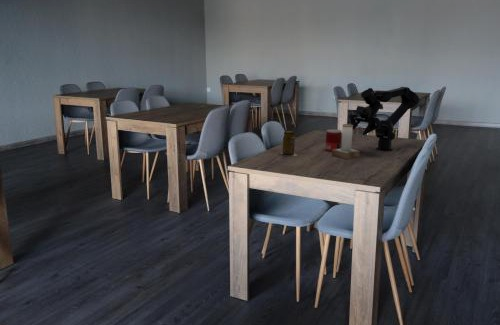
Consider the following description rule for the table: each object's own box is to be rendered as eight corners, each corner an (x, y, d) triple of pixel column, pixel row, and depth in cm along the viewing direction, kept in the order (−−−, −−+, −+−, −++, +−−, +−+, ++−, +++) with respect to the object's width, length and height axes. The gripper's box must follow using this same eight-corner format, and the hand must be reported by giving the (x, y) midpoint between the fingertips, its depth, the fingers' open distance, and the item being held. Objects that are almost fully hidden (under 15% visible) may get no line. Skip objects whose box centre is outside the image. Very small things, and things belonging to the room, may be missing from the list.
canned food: (340, 152, 245) (341, 132, 242) (325, 151, 247) (326, 131, 244) (340, 149, 252) (341, 129, 250) (325, 148, 254) (326, 129, 251)
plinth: (345, 153, 243) (345, 147, 242) (359, 156, 235) (360, 150, 234) (331, 155, 237) (332, 149, 237) (346, 159, 230) (346, 153, 229)
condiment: (291, 152, 244) (292, 130, 241) (298, 155, 236) (299, 132, 233) (279, 153, 242) (279, 130, 239) (285, 156, 234) (286, 133, 231)
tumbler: (349, 148, 238) (351, 124, 235) (352, 151, 233) (354, 125, 230) (339, 148, 238) (341, 124, 235) (342, 151, 233) (344, 125, 230)
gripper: (351, 98, 244) (335, 121, 240) (379, 102, 229) (363, 126, 225) (360, 112, 250) (345, 134, 247) (388, 116, 235) (373, 140, 232)
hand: (356, 133), depth 237 cm, fingers open, 9 cm apart
